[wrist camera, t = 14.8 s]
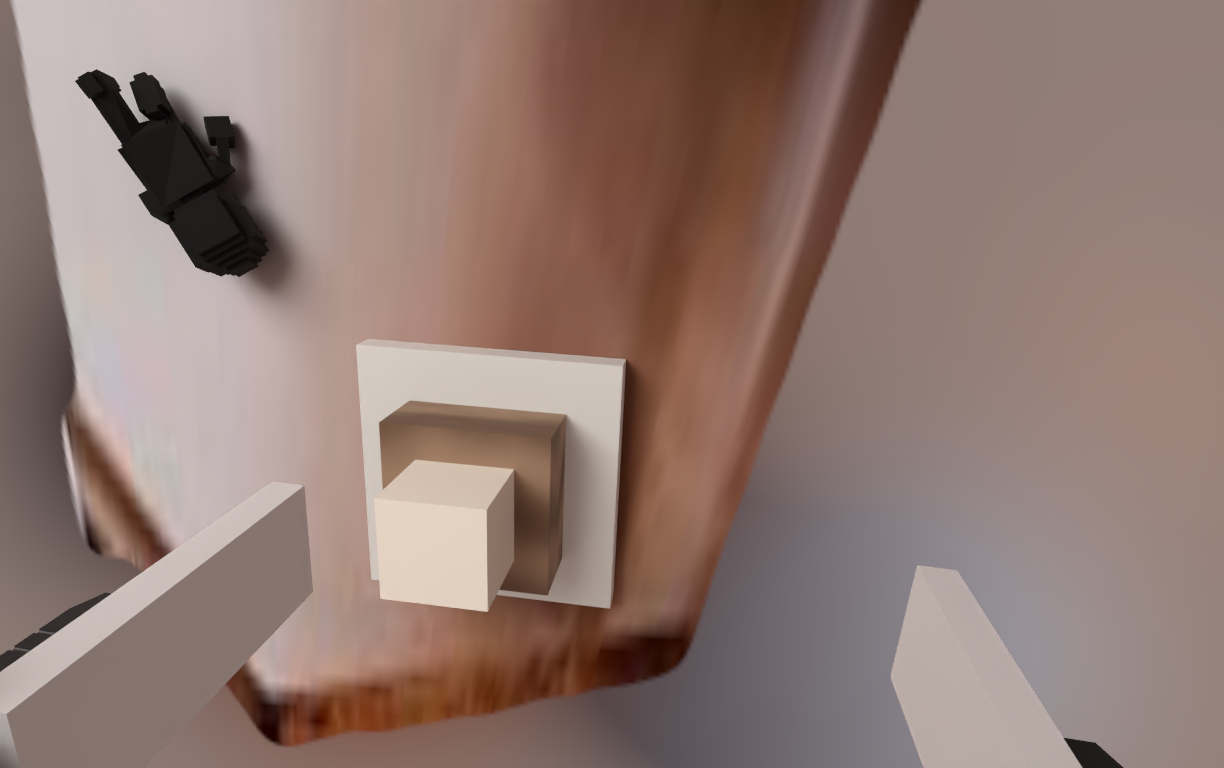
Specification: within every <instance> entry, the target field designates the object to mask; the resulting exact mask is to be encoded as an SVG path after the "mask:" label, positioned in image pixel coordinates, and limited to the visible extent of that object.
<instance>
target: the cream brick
mask: <svg viewBox="0 0 1224 768" xmlns="http://www.w3.org/2000/svg"><path fill="white" fill-rule="evenodd" d="M374 505H375V520H376V535H377V551H378V566H379V581H380V597H381V599H388V600H396V601H404V602H412V603H421V604H429V605H437V606H445V607H453V608H461V609H470V610H478V611H486V612H488V610H489V608H490V606H491V604H492V602H493V601H494V599H495V597H496V595H497V593H498V591H499V589H500V587H501V585H502V583H503V581H504V579H505V577H506V575H507V573H508V571H509V569H510V567H511V565H512V564H513V562H514V469H506V468H496V467H486V466H475V465H465V464H455V463H444V462H434V461H423V460H414V461H413V462H412V463H411V464H410V465H409V466H408V467H407V468H406V469H405V470H404V471H403V472H402V473H401V474H399V475H398V476H397V477H396V478H395V479H394V480H393V481H392V482H391V483H390V484H389V485H388V486H387V487H386V488H384V489H383V490H382V491H381V492H380V493H379V494H378V495H377V496H376V497H375V498H374Z"/></svg>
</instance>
